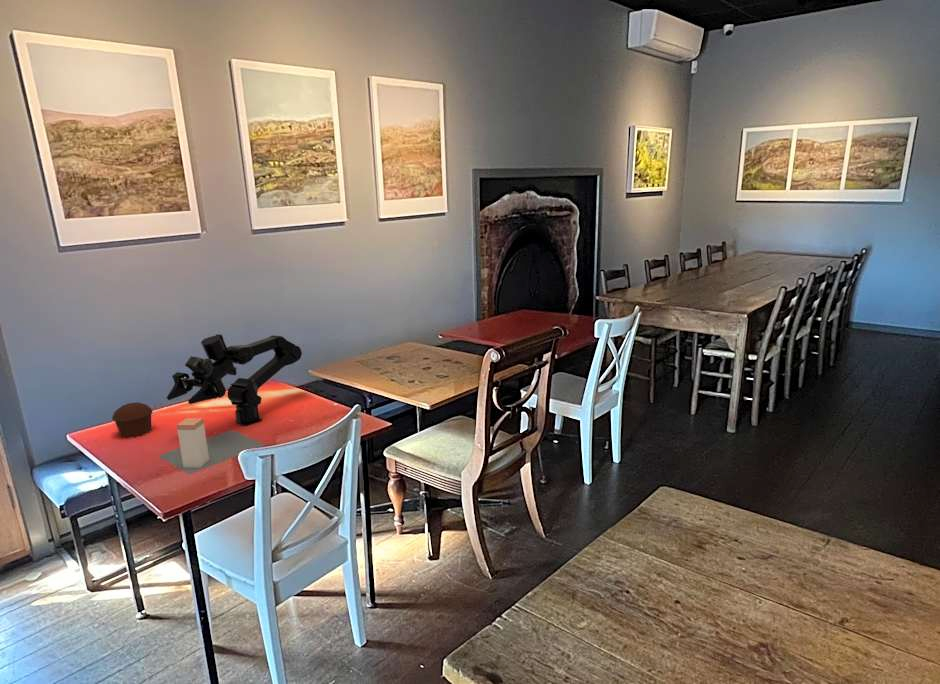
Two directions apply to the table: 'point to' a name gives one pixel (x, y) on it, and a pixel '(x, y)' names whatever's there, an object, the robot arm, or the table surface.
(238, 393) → the robot arm
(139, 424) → the muffin
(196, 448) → the cream block
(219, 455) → the charcoal mat
